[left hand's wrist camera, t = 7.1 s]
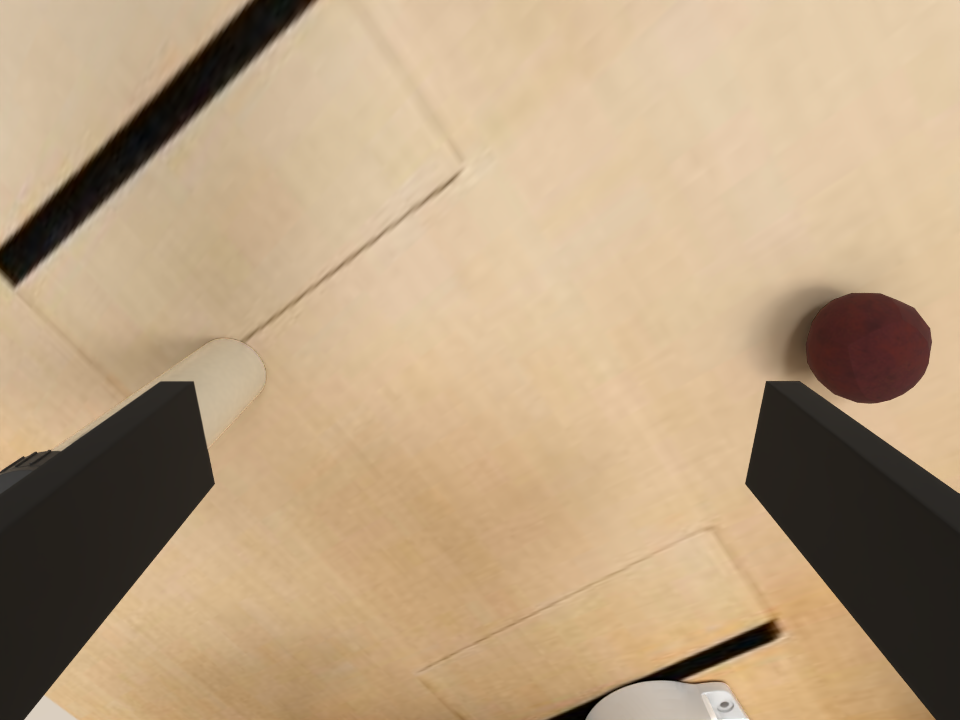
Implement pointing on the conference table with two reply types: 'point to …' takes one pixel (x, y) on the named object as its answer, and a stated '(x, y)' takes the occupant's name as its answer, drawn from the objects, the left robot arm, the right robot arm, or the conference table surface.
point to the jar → (207, 386)
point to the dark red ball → (868, 347)
